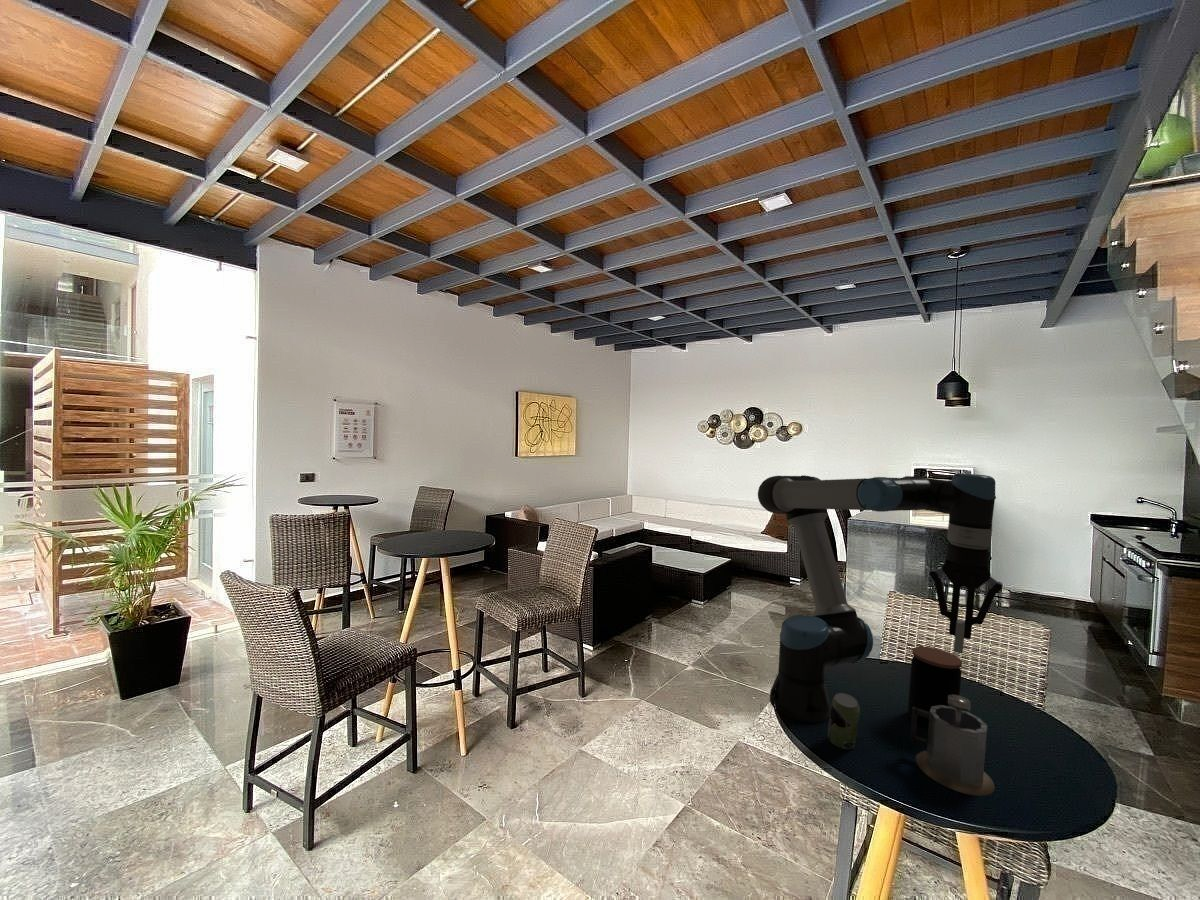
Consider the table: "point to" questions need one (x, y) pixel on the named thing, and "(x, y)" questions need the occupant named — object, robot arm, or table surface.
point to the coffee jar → (932, 680)
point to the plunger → (959, 706)
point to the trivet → (981, 791)
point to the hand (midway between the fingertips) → (958, 650)
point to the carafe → (953, 745)
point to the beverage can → (843, 721)
